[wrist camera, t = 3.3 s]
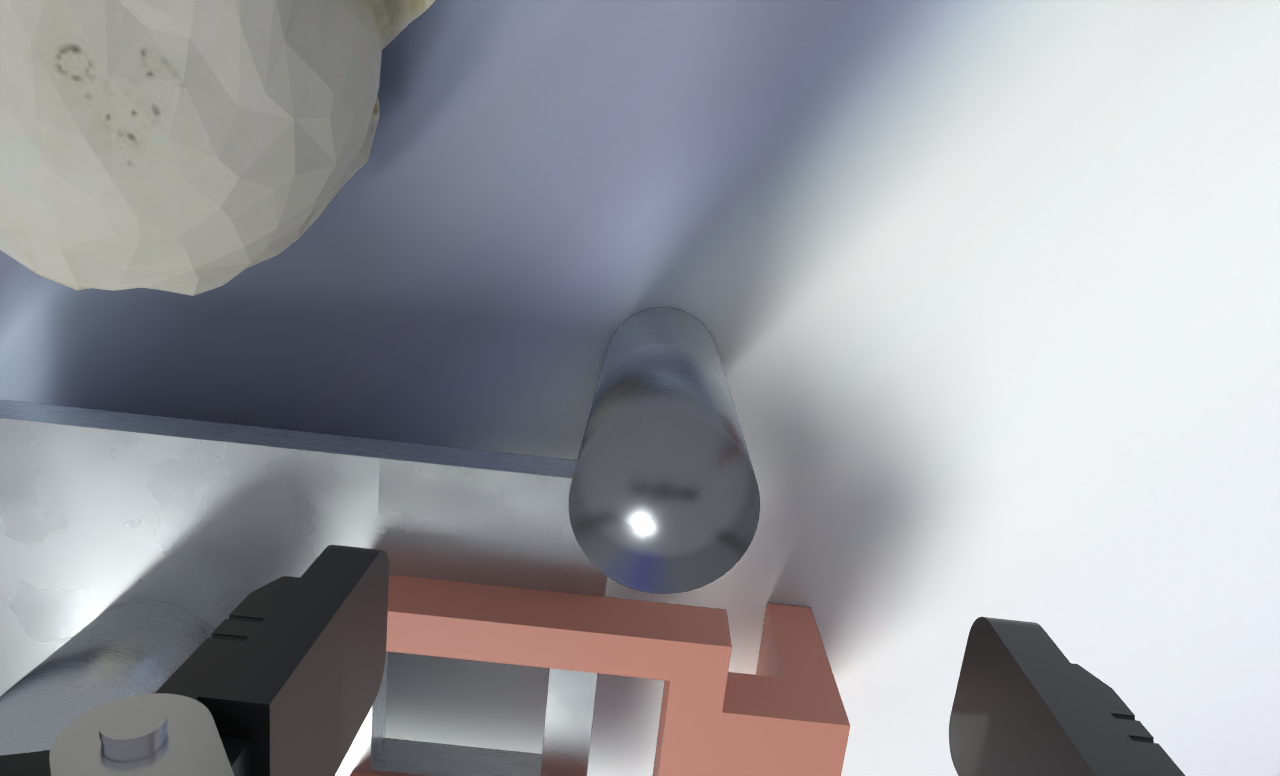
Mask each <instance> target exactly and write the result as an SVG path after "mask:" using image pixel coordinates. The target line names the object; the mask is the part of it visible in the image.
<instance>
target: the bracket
mask: <svg viewBox="0 0 1280 776" xmlns="http://www.w3.org/2000/svg"><path fill="white" fill-rule="evenodd" d="M731 648H732V646H731V639H730V632H729V626H728V619H727V612H726V610H724V609H714V608H705V607H695V606H686V605H676V604H667V603H657V602H648V601H638V600H628V599H619V598H609V597H600V596H590V595H581V594H571V593H562V592H552V591H543V590H533V589H523V588H514V587H504V586H495V585H485V584H476V583H466V582H457V581H447V580H438V579H428V578H418V577H409V576H399V575H390V574H389V586H388V614H387V642H386V651H389V652H398V653H408V654H417V655H427V656H437V657H446V658H456V659H465V660H475V661H485V662H494V663H504V664H513V665H523V666H532V667H542V668H552V669H561V670H571V671H580V672H590V673H600V674H609V675H619V676H628V677H638V678H647V679H657V680H665V682H664V690H663V698H662V706H661V714H660V722H659V730H658V738H657V746H656V754H655V762H654V769H653V776H841V772H842V767H843V761H844V756H845V751H846V745H847V740H848V735H849V730H850V724H849V721H848V718H847V715H846V712H845V709H844V706H843V703H842V700H841V697H840V694H839V691H838V688H837V685H836V682H835V679H834V676H833V673H832V670H831V667H830V664H829V661H828V658H827V655H826V652H825V649H824V646H823V643H822V640H821V637H820V634H819V631H818V628H817V625H816V622H815V619H814V616H813V613H812V610H811V608H809V607H800V606H790V605H780V604H771V603H767V607H766V614H765V620H764V626H763V633H762V639H761V646H760V652H759V659H758V665H757V671H756V675H751V674H742V673H732V672H728V669H729V662H730V655H731ZM349 776H378V775H368V774H359V773H350V775H349Z"/></svg>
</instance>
